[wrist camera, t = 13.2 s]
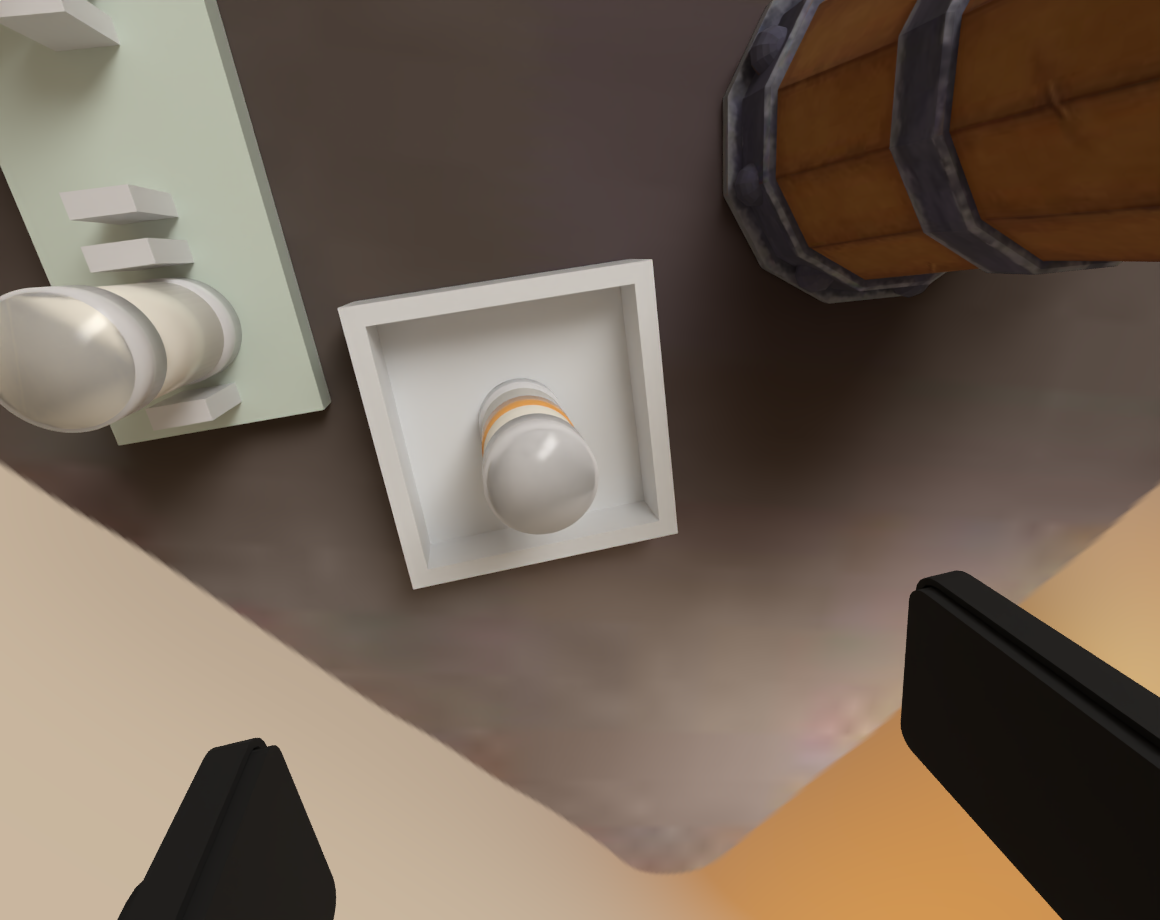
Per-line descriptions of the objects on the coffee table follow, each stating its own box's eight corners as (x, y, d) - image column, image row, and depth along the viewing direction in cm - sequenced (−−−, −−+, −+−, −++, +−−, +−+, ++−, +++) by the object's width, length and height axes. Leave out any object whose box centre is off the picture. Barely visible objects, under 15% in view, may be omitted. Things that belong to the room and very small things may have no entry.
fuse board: (-146, -259, 18) (-330, -413, 14) (138, -271, 19) (46, -419, 15) (137, 435, 26) (73, 470, 21) (331, 401, 27) (306, 428, 22)
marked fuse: (470, 386, 26) (472, 437, 19) (556, 371, 27) (590, 415, 19) (487, 467, 28) (495, 544, 20) (568, 451, 28) (605, 522, 21)
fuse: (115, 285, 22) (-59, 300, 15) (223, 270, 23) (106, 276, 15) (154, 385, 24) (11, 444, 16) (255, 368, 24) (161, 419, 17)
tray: (354, 301, 25) (337, 308, 22) (629, 259, 27) (652, 259, 24) (418, 552, 30) (413, 589, 26) (655, 504, 31) (678, 533, 28)
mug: (1106, -147, 25) (2941, -1301, 7) (1112, 208, 30) (2145, 133, 12) (678, 8, 24) (1394, -825, 6) (759, 348, 29) (1272, 510, 11)
